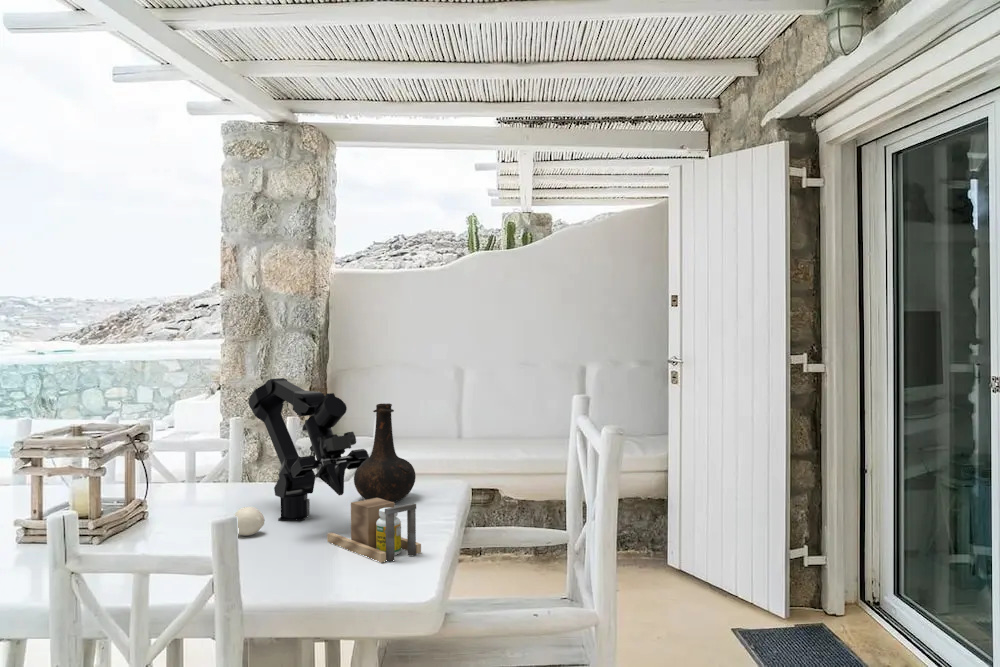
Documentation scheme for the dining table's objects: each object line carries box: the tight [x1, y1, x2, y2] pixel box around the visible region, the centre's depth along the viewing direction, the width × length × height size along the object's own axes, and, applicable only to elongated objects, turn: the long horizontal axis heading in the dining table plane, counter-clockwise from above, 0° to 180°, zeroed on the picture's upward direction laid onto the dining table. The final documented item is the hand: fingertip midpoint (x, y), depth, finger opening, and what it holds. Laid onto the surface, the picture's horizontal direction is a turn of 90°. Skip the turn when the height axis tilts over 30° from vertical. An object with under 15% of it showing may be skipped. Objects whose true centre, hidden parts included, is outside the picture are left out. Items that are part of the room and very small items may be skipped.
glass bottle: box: [353, 403, 416, 503], centre depth 211 cm, size 18×18×28 cm
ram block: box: [350, 498, 396, 549], centre depth 164 cm, size 7×7×10 cm
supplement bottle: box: [376, 507, 402, 556], centre depth 159 cm, size 5×5×10 cm
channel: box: [326, 503, 422, 563], centre depth 163 cm, size 23×10×11 cm, turn 43°
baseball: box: [234, 506, 266, 537], centre depth 175 cm, size 7×7×7 cm
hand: (341, 494), depth 173 cm, fingers closed
